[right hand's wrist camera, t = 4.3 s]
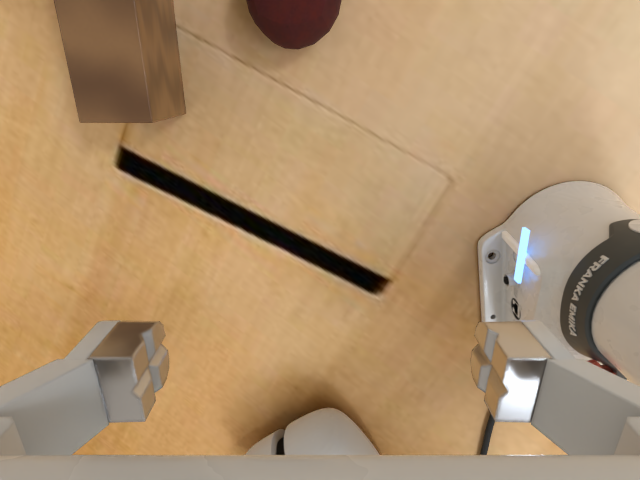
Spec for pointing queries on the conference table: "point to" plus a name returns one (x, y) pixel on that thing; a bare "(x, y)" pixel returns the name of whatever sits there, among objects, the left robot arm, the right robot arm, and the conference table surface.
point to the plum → (294, 20)
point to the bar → (122, 59)
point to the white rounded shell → (317, 437)
